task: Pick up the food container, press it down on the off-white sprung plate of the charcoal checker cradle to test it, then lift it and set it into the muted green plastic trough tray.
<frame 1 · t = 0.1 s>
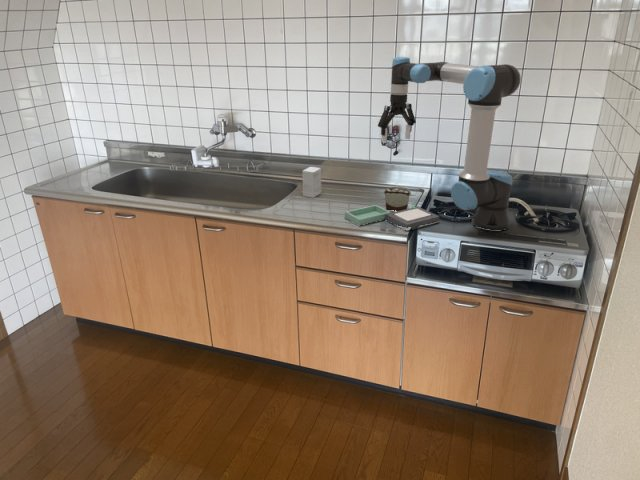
hand: (395, 140, 230), 28 cm above the counter, fingers open, 13 cm apart
food container: (396, 209, 226), on the counter
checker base: (411, 221, 213), on the counter
small box: (312, 195, 245), on the counter
checker plate: (412, 215, 211), point 3 cm above the counter, slide at -0.1 cm
trough tray: (367, 218, 216), on the counter
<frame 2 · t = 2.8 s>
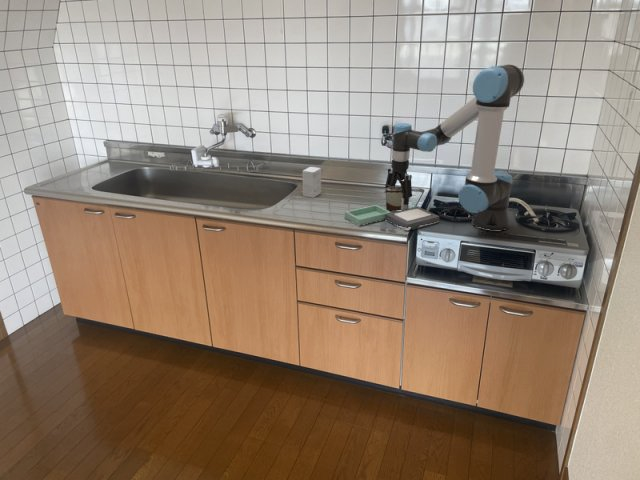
hand: (397, 207, 226), 1 cm above the counter, fingers open, 9 cm apart
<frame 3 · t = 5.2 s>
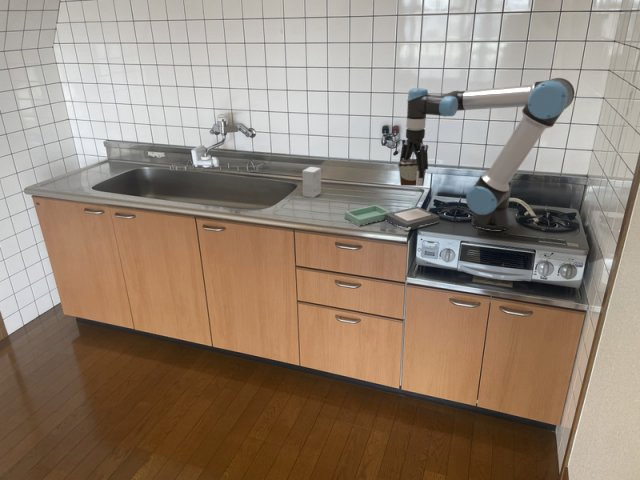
hand: (412, 182, 209), 17 cm above the counter, fingers closed on food container, 8 cm apart
food container: (412, 183, 210), point 16 cm above the counter, touching gripper
everything else where it was.
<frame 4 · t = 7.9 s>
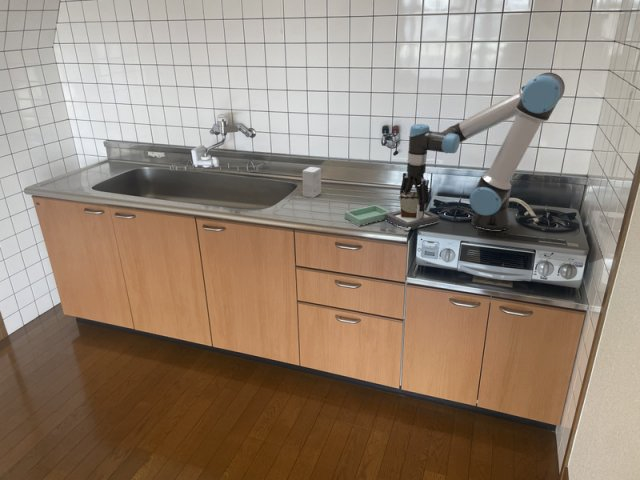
hand: (412, 214, 211), 3 cm above the counter, fingers open, 8 cm apart
food container: (411, 215, 213), point 2 cm above the counter, touching checker plate, gripper
checker plate: (412, 217, 212), point 2 cm above the counter, slide at -1.1 cm, touching food container
everything else where it was.
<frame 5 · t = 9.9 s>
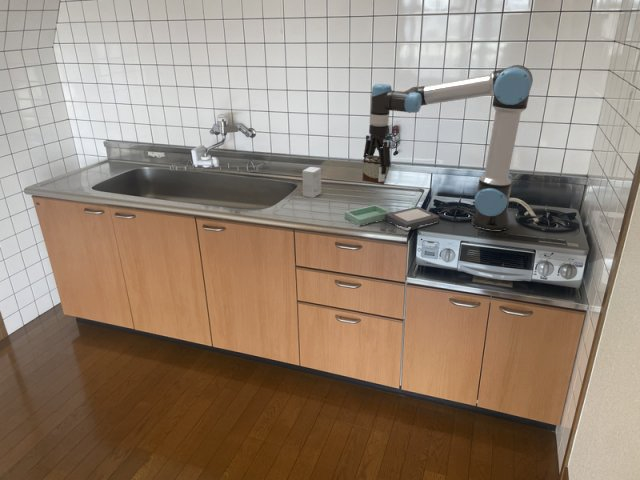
hand: (375, 178, 208), 18 cm above the counter, fingers closed on food container, 8 cm apart
food container: (373, 180, 211), point 17 cm above the counter, touching gripper
checker plate: (412, 215, 212), point 3 cm above the counter, slide at -0.3 cm
everything else where it was.
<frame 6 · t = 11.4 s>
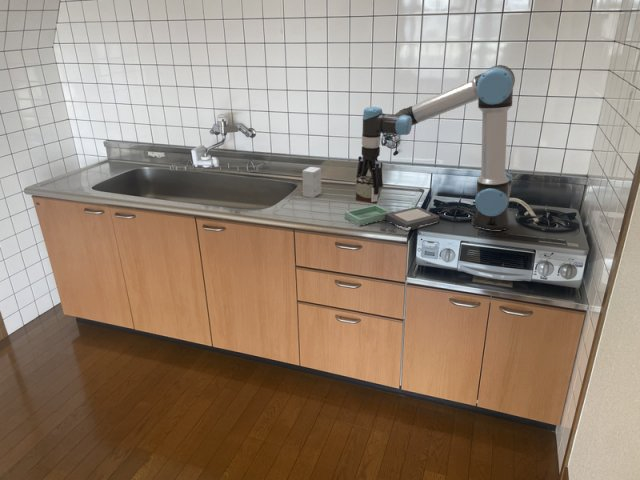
hand: (368, 198, 212), 9 cm above the counter, fingers closed on food container, 8 cm apart
food container: (366, 199, 215), point 8 cm above the counter, touching gripper
everything else where it was.
when the fingers open (4 cm above the counter, at t = 12.8 s): food container moves 1 cm, resting on trough tray.
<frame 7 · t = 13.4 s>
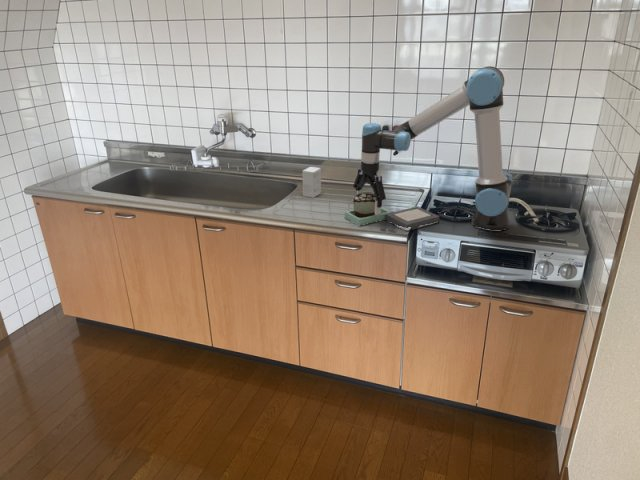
hand: (368, 209, 214), 4 cm above the counter, fingers open, 13 cm apart
food container: (365, 213, 217), point 1 cm above the counter, touching trough tray
everything else where it was.
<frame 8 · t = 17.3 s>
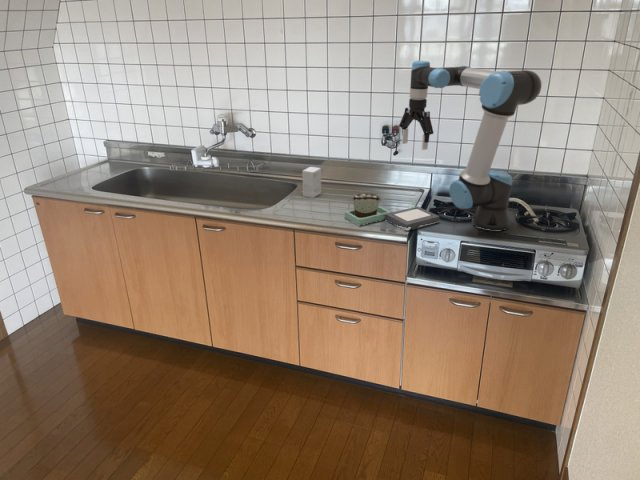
hand: (414, 146, 225), 27 cm above the counter, fingers open, 13 cm apart
at the end: food container inside the target area on the trough tray (2.2 cm from its centre), point 0.4 cm above the trough tray's base; food container tilted 0°; the gripper is holding nothing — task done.
